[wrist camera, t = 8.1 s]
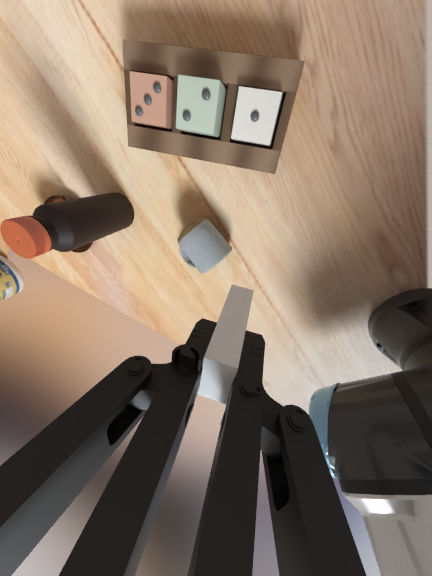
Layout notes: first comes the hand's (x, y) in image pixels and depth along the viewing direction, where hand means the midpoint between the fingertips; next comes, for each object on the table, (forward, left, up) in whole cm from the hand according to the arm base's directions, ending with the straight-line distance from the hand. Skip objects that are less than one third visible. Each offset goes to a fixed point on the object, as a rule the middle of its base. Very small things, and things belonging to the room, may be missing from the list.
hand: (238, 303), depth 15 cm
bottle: (+28, +4, -27) cm, 39 cm away
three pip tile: (+18, -13, -24) cm, 32 cm away
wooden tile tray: (+11, -13, -26) cm, 31 cm away
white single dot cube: (+4, -13, -24) cm, 27 cm away
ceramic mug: (+10, +7, -27) cm, 29 cm away
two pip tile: (+11, -13, -22) cm, 28 cm away
